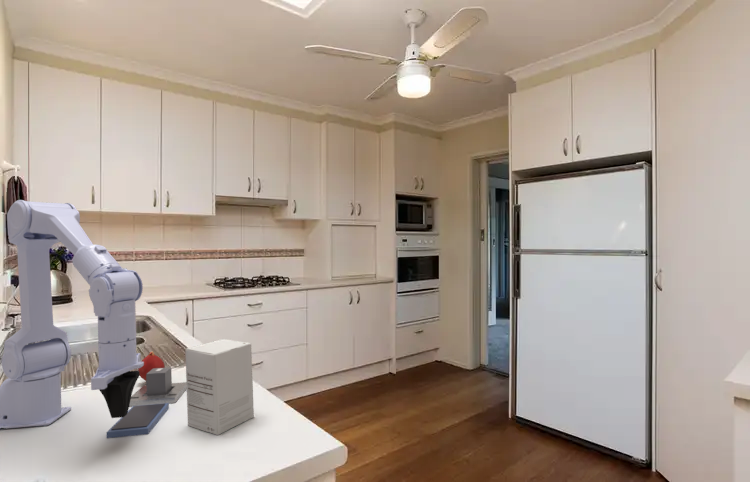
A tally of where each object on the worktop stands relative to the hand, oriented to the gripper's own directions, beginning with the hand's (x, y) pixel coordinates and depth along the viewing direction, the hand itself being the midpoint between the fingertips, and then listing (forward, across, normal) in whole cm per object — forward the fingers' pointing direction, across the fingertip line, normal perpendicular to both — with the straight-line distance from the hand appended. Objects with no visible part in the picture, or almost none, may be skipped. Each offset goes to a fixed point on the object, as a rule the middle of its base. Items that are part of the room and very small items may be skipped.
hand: (119, 416), depth 74 cm
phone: (+5, +8, 0) cm, 10 cm away
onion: (+5, +32, +6) cm, 33 cm away
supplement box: (+5, +5, -16) cm, 18 cm away
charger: (+5, +22, +1) cm, 22 cm away
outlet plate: (+5, +22, +1) cm, 22 cm away
